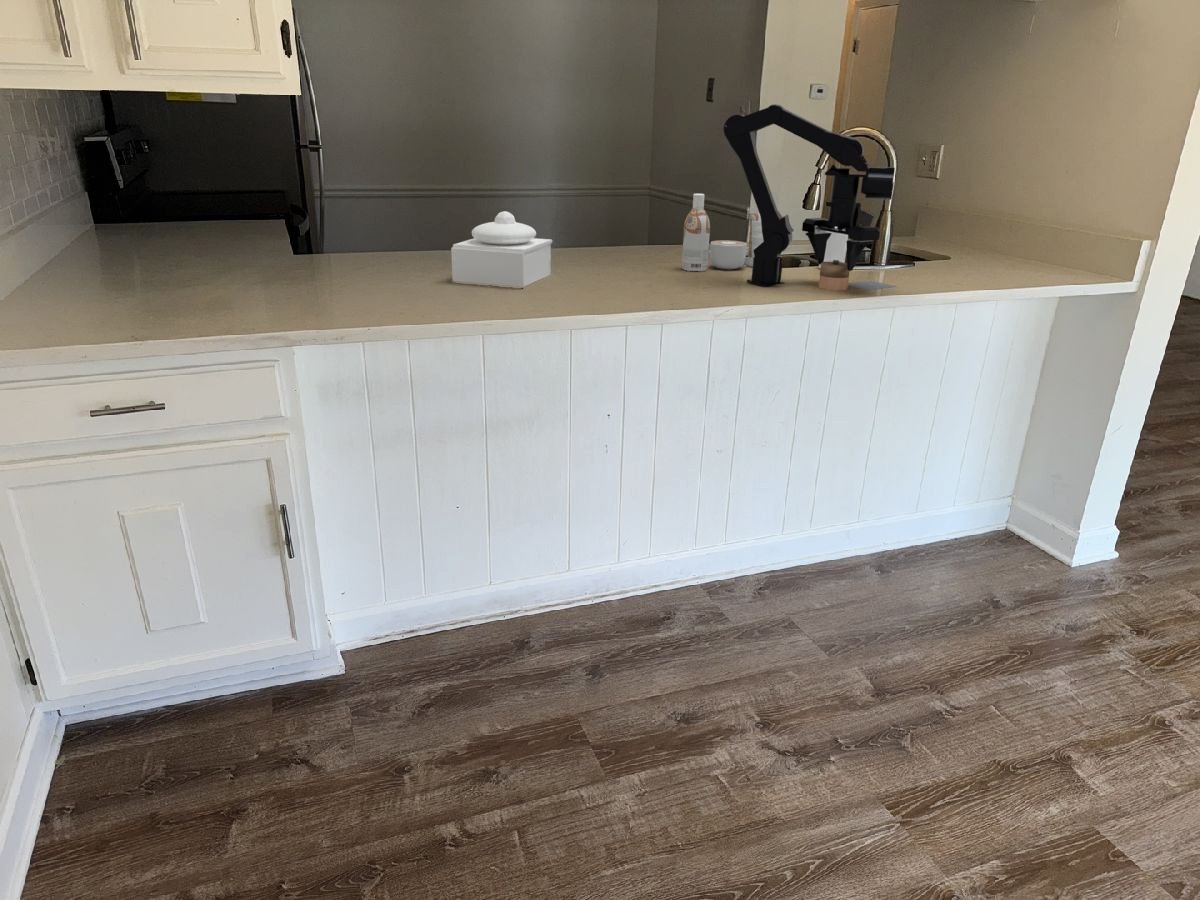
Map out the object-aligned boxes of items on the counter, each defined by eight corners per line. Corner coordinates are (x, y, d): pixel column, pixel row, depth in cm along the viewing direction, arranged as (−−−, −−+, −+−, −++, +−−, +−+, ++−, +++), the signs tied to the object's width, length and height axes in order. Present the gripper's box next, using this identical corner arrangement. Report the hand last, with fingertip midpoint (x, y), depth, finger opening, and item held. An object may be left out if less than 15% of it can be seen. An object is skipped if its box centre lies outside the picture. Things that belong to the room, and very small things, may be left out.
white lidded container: (452, 283, 195) (449, 212, 189) (486, 271, 211) (484, 205, 205) (523, 290, 190) (522, 217, 184) (552, 276, 206) (552, 209, 200)
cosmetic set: (757, 263, 230) (763, 191, 223) (776, 269, 222) (783, 194, 215) (674, 267, 221) (678, 192, 214) (691, 273, 213) (696, 196, 206)
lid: (834, 278, 193) (836, 263, 191) (813, 274, 198) (815, 259, 197) (855, 276, 196) (857, 261, 195) (833, 271, 201) (835, 257, 200)
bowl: (832, 292, 194) (834, 278, 193) (812, 287, 199) (814, 274, 198) (852, 290, 197) (854, 276, 196) (832, 285, 202) (833, 272, 201)
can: (844, 271, 220) (850, 224, 216) (818, 270, 221) (824, 223, 217) (842, 267, 226) (848, 221, 222) (818, 266, 227) (823, 220, 223)
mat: (867, 291, 196) (867, 290, 196) (841, 285, 202) (841, 284, 202) (896, 288, 201) (897, 286, 201) (870, 282, 207) (870, 280, 207)
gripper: (901, 200, 187) (890, 271, 193) (838, 192, 202) (830, 259, 208) (866, 201, 182) (856, 275, 187) (804, 193, 196) (796, 262, 202)
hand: (835, 267), depth 196 cm, fingers open, 9 cm apart
